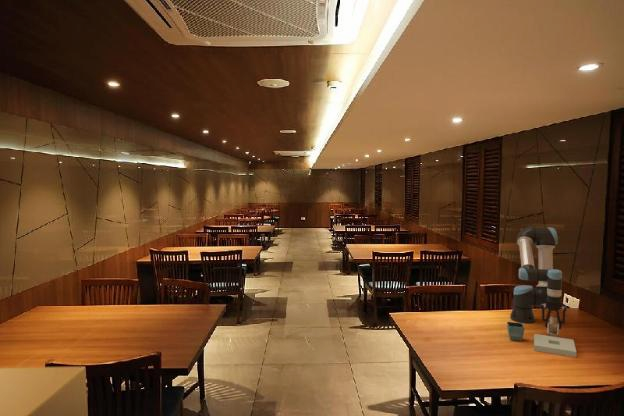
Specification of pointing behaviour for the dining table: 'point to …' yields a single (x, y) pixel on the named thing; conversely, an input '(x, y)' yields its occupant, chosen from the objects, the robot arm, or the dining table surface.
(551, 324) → the peg
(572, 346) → the board
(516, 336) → the flower pot
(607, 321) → the dining table surface
